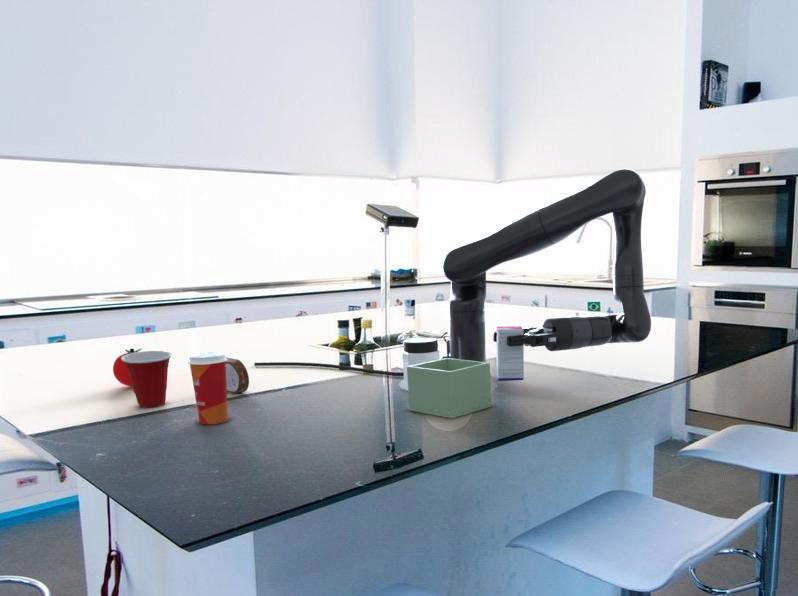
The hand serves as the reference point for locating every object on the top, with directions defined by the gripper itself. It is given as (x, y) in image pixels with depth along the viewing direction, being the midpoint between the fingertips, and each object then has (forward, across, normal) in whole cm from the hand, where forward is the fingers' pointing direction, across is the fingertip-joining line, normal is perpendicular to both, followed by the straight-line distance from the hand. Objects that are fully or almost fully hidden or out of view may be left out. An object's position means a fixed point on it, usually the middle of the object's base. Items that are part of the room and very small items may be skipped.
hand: (500, 339), depth 166 cm
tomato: (+79, -61, +14) cm, 101 cm away
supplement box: (-2, 0, +9) cm, 9 cm away
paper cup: (+62, -9, +13) cm, 64 cm away
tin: (+57, -40, +14) cm, 71 cm away
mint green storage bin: (+14, +4, +13) cm, 20 cm away
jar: (+13, -18, +14) cm, 26 cm away
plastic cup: (+74, -33, +14) cm, 82 cm away
